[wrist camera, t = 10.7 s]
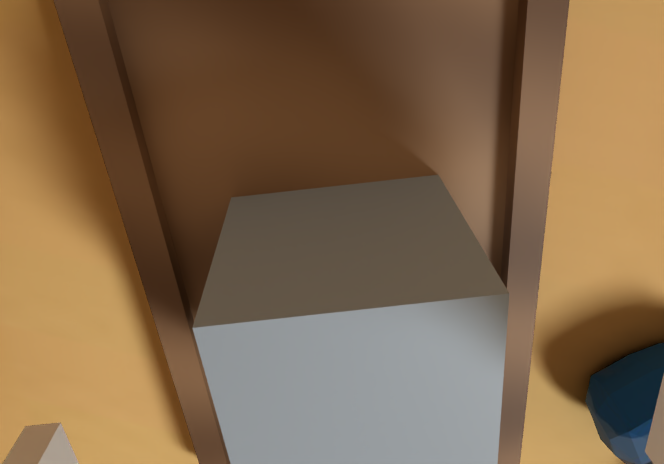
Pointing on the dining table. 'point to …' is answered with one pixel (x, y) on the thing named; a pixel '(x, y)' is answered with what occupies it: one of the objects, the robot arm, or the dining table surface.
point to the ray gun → (627, 402)
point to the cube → (354, 328)
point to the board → (319, 136)
